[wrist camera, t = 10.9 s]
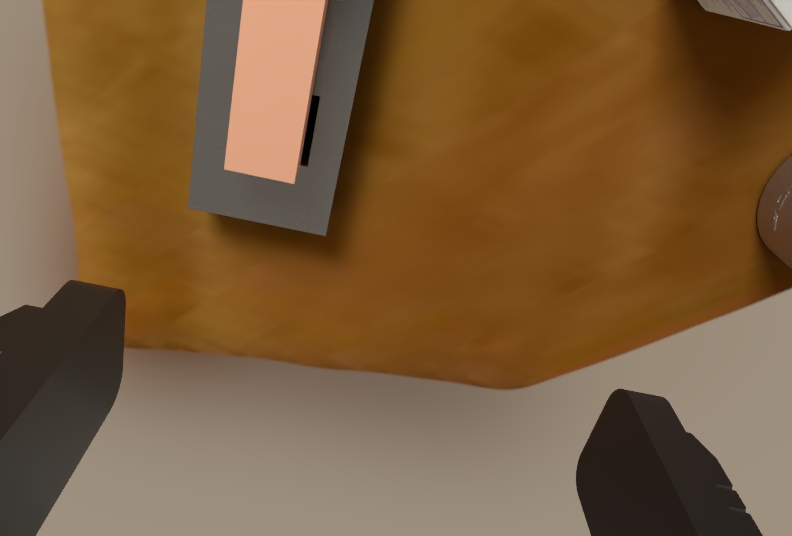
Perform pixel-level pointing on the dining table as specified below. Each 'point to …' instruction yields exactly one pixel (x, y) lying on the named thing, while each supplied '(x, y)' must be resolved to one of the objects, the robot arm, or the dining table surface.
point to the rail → (319, 162)
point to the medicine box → (754, 11)
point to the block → (273, 86)
